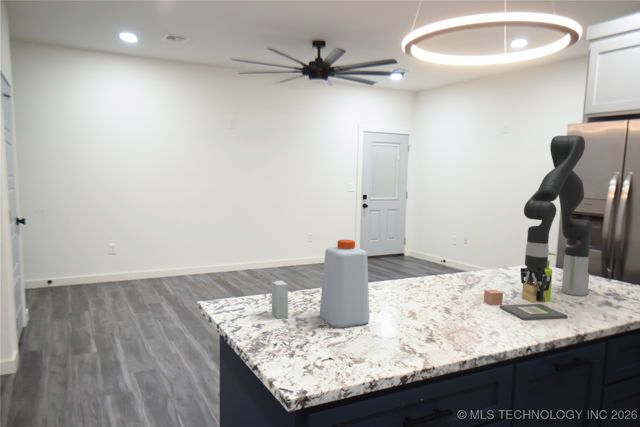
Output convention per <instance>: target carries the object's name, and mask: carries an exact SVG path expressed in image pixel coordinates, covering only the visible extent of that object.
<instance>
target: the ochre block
mask: <svg viewBox="0 0 640 427" xmlns="http://www.w3.org/2000/svg"><path fill="white" fill-rule="evenodd" d="M539 286H540V288H541V285H539ZM545 287H546V286H545ZM521 292H522V293H521V295H522V296H521V299H522V300H524V301H527V302H528V303H530V304H542V303H546V301H545V295H546V291H544V294H543V300H542V301H537V300H536V295H537V287H536V285H535V284H534V282H533V283H523V284H522V291H521Z"/></svg>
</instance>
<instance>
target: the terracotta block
mask: <svg viewBox="0 0 640 427" xmlns="http://www.w3.org/2000/svg"><path fill="white" fill-rule="evenodd" d="M483 293H484V294H483V302H484V303H485V304H487V305H489V306H500V305H503V297H504V293H503V292H502V291H499V290H498V289H484V292H483Z"/></svg>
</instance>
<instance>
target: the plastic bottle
mask: <svg viewBox="0 0 640 427" xmlns="http://www.w3.org/2000/svg"><path fill="white" fill-rule="evenodd" d="M324 252H325V253H324V263H323V272H322V273H323V275H322V282H321V283H322V285H321V297H320V306H319V307H320V308H319V316H320V318H321V319H322V320H324V321H325V322H326V323H328V324H329V325H330V326H332V327H334V328H347V327H348V328H349V327H355V326H362V325H365V324H366V325H367V323H369V322H370V297H369V296H370V294H369V271H368V270H369V268H368V267H369V266H368V252H367V251H366V250H364V249H362V248H359V247H356V241H355V240H352V239H339V240H337V246H332V247H331V246H329V247H328V248H326V249H325V251H324Z"/></svg>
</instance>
